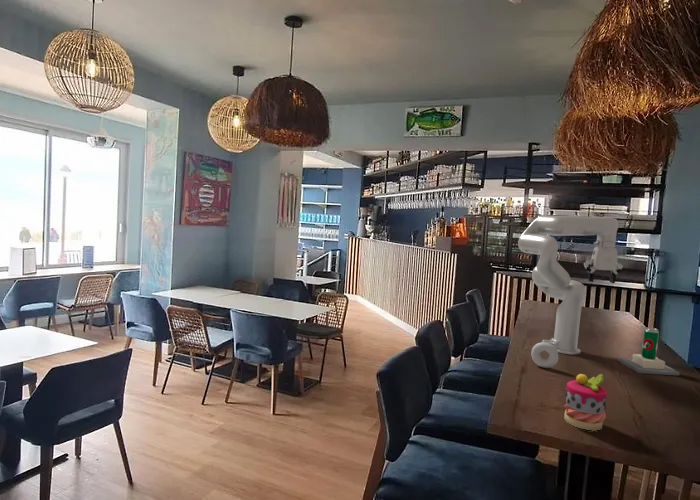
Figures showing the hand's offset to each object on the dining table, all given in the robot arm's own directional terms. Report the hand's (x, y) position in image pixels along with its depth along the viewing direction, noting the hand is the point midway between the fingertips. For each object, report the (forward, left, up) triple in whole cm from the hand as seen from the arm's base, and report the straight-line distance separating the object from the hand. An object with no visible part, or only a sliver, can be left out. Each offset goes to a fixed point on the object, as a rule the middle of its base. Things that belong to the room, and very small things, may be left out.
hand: (601, 282), depth 208 cm
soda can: (+8, -27, -26) cm, 38 cm away
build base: (+8, -27, -30) cm, 41 cm away
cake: (-44, -82, -31) cm, 98 cm away
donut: (-37, -35, -31) cm, 59 cm away
